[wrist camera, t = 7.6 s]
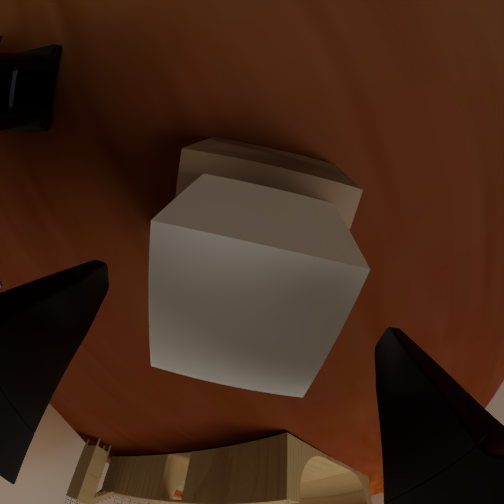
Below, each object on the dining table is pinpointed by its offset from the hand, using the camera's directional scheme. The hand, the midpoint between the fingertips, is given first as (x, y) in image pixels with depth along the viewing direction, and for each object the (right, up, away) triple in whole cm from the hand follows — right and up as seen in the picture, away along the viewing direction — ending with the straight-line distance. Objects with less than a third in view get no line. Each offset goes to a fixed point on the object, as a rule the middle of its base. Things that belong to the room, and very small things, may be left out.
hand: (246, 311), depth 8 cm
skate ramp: (-5, -37, +31) cm, 48 cm away
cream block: (0, +2, +3) cm, 4 cm away
